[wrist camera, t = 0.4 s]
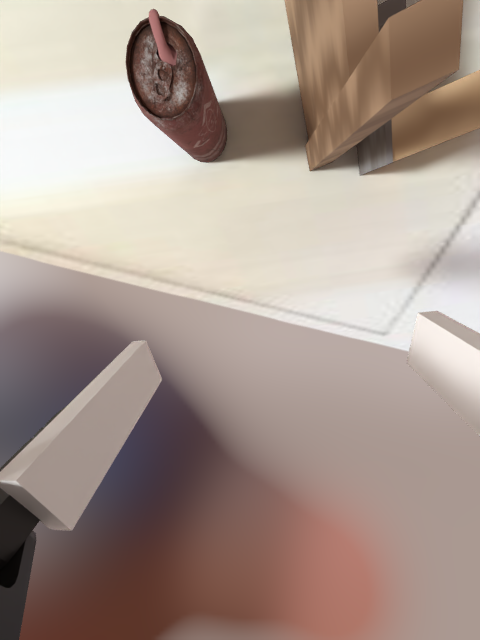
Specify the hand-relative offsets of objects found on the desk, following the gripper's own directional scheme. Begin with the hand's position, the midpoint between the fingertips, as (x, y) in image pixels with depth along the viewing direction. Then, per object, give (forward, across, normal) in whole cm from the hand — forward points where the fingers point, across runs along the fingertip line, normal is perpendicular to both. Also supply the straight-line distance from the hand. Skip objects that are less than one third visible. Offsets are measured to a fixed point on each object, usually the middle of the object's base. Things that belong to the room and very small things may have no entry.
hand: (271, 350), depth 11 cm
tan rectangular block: (+27, +20, +12) cm, 36 cm away
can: (+27, -6, +17) cm, 32 cm away
